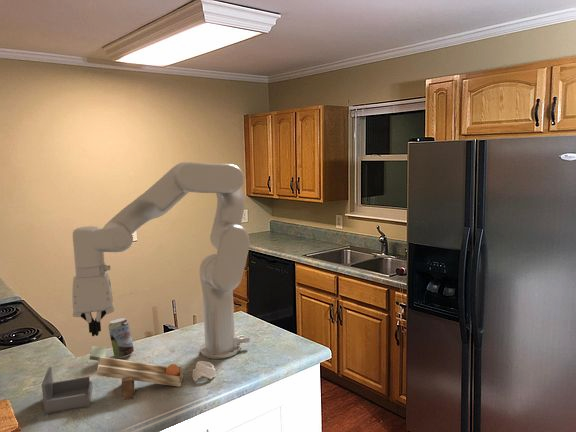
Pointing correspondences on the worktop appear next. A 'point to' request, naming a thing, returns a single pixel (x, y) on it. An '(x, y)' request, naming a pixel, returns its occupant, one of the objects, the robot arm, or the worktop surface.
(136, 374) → the lever
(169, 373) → the ball
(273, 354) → the worktop surface
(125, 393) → the fulcrum
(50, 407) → the bin
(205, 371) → the grey hollow rounded piece
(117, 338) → the beverage can
